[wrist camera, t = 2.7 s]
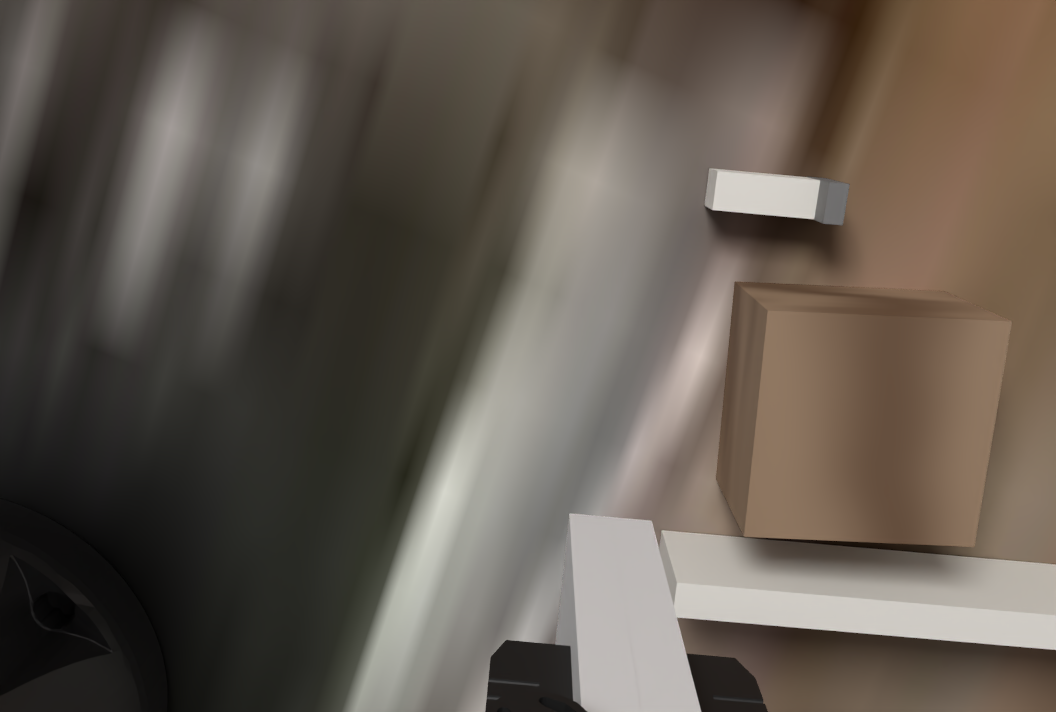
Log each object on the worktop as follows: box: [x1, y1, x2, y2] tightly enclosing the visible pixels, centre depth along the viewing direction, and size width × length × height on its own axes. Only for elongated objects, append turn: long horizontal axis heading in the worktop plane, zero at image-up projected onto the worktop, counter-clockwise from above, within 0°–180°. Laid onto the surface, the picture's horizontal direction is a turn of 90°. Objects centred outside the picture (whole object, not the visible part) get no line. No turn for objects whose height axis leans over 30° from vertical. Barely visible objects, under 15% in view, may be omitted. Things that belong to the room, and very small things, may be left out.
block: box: [716, 282, 1012, 547], centre depth 32 cm, size 7×7×5 cm
